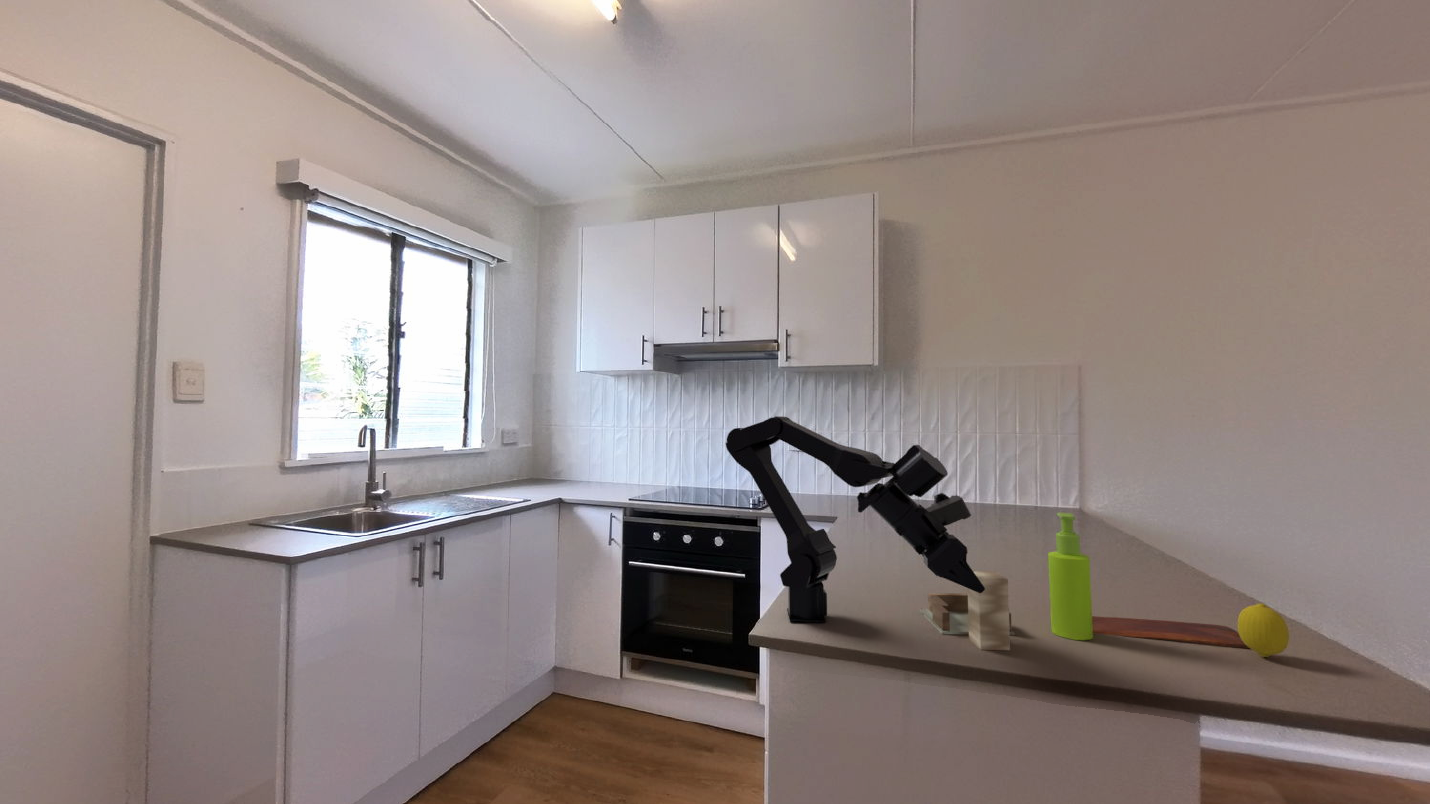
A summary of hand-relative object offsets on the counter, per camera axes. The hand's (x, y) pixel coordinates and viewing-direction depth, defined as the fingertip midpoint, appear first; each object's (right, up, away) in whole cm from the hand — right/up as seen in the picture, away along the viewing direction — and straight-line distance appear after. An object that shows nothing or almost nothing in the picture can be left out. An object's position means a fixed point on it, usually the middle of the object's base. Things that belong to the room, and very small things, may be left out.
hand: (974, 583), depth 89 cm
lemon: (+41, -9, -6) cm, 42 cm away
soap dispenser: (+18, -10, +4) cm, 21 cm away
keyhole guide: (+2, -10, +9) cm, 14 cm away
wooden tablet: (+32, -11, +5) cm, 35 cm away
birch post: (+2, -10, -1) cm, 10 cm away
